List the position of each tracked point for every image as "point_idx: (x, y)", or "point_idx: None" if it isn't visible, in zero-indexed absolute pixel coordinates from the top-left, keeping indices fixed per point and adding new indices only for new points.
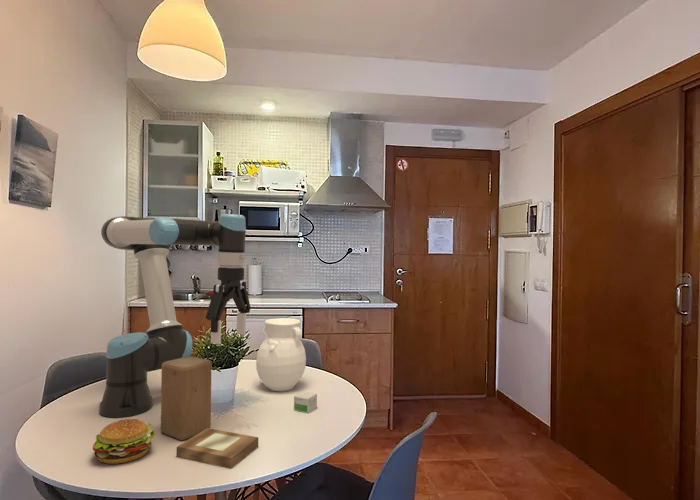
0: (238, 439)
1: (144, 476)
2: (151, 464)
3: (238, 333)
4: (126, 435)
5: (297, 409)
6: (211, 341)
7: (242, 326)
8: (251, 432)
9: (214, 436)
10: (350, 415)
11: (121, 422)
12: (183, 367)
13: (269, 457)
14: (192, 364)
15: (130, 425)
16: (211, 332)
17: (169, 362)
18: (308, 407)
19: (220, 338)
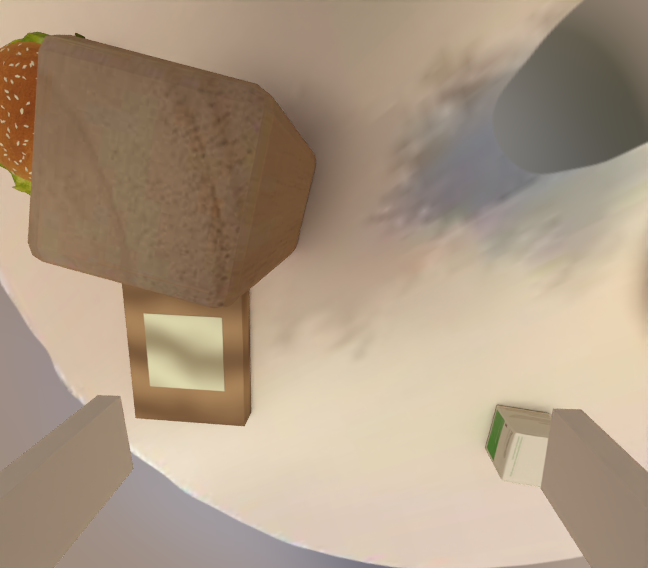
0: (214, 390)
1: (45, 262)
2: None
3: (553, 434)
4: (6, 165)
5: (495, 419)
6: (87, 411)
7: (601, 551)
8: (315, 362)
9: (203, 328)
10: (498, 546)
11: (10, 101)
12: (34, 249)
13: (218, 452)
14: (93, 265)
15: (18, 145)
16: (7, 472)
17: (47, 97)
18: (491, 460)
19: (96, 507)
